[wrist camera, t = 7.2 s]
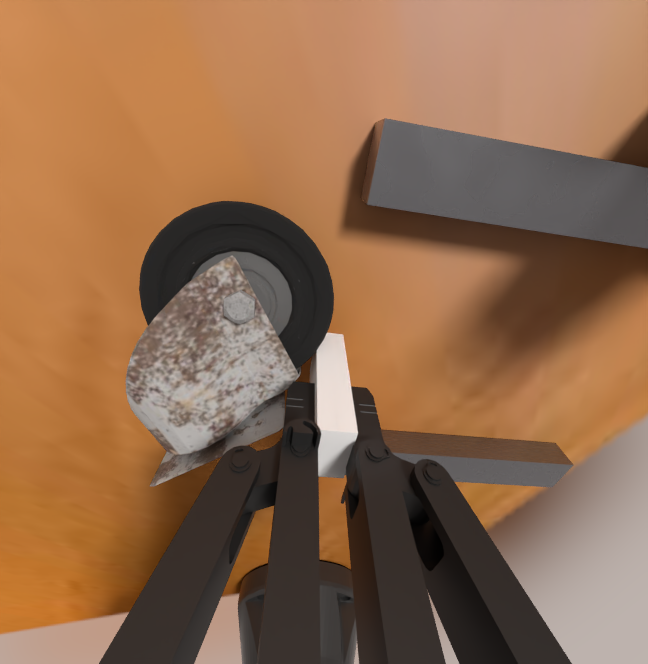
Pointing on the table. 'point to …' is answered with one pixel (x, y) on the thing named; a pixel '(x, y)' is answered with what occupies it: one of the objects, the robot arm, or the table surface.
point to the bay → (505, 210)
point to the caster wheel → (224, 329)
